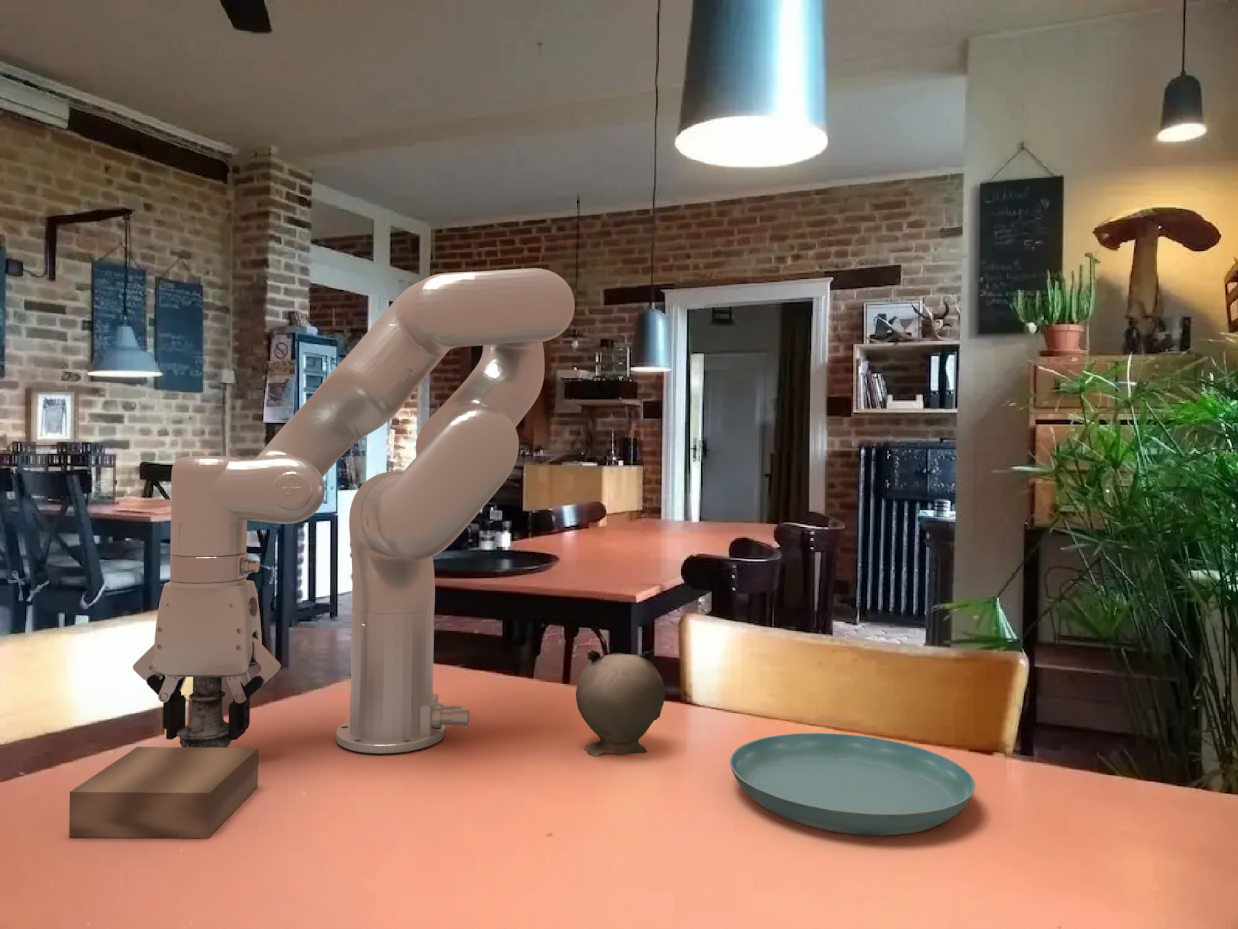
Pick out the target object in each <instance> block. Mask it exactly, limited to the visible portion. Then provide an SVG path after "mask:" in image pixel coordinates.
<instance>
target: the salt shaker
mask: <svg viewBox="0 0 1238 929" xmlns="http://www.w3.org/2000/svg"><path fill="white" fill-rule="evenodd" d="M222 679H223V677H192V693H190V694H189V695H188V699H189V700H191V717H190V720H189V723H188V724H187V725H186V727H183V728H181V729H180V730H179V731H178V732H177V738H179V744H180V747H217V748H229V746H230V744H231V742H232V740H230V739H229V738H228V730H229V721H228V722H226V721H225V720H224V714H223V697H225V696H226V692H225V691H223V690H222V687H223V686H222V682H223V680H222Z"/></svg>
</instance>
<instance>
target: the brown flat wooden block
mask: <svg viewBox="0 0 1238 929" xmlns="http://www.w3.org/2000/svg"><path fill="white" fill-rule="evenodd" d="M258 787H259V747H227V748H217V747H182V746H136V747H135V748H133V749H132V750H130V751H129V752H127V753H126V754H124V755H123V756H122V757H120V758H119V759H117V760H115V761H114V762H112V763H111V764H110V765H108V766H106V767H105V768H103V769H102V770H101V771H99V772H98V773H95V775H93V776H91V777H90V778H88V779H87V780H86V781H84V782H82V783H81V784H80V785H78V786H76V787H75V788H73V789H72V790H70V791H69V809H68V810H69V811H68V812H69V814H68V815H69V821H68V822H69V823H68V824H69V825H68V826H69V827H68V829H69V830H68V833H69V834H68V837H69V838H104V839H105V838H113V839H114V838H115V839H116V838H117V839H118V838H119V839H121V838H122V839H123V838H125V839H126V838H127V839H133V838H136V839H138V838H141V839H146V838H147V839H153V838H154V839H209V838H210V837H211V836H213V834H214V833H215V832H216V831H217V830H218V829H219V828H220V827H221V826H222V825H223V824H224V823H225V822H226V821H227V820H228V819H229V818H230V817H231V815H232V814H234V812H236V811H237V810H238V808H239V807H241V805H242V804H243V803H244V802H245V801H246V800H247V799H248V798H249V797H250V796H251V795H252V794H253V793H254V792H255V790H256V789H258Z"/></svg>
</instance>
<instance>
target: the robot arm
mask: <svg viewBox="0 0 1238 929" xmlns="http://www.w3.org/2000/svg"><path fill="white" fill-rule="evenodd" d="M575 304H576V302H575V296H574V293H573V291H572V289H571V287H570V285H569V284H568V282H566V280H565V279H564V278H563V277H561V276H560V275H559V274H557V273H556V272H553V271H551V270H548V269H545V268H544V269H543V268H537V267H534V268H533V267H531V268H515V269H499V270H482V271H461V272H460V271H459V272H458V271H457V272H443V273H438V274H433V275H431V276H428V277H426V278H424V279H423V280H421V281H420V280H419V281H418V282H417V283H414V284H412V285H411V286H409V287H408V288H406V289H405V290H404V291H403V292H402V293H400V294H399V295H398V296H397V297H396V299H395V300H394V301H393V302H392V303H391V304H390V306H389V307H388V308H386V310H385V311H384V312H383V313H382V315H380V317H379V318H378V320H376V322H375V323H374V324H373V325H372V326H371V328H370V329H369V330H368V331H367V332H366V333H365V334H364V335H363V337H362V338H361V339H360V340H359V341H358V342H357V344H356V345H355V346H354V347H353V348H352V349H351V350H350V352H349V353H348V354H347V355H346V356H345V357H344V358H343V360H341V361H340V363H339V364H338V365H337V366H336V367H335V369H333V371H332V372H331V373H330V374H329V375H328V376H326V378H325V379H324V381H323V382H321V384H320V385H319V387H318V388H317V389H316V390H315V391H314V392H313V394H312V395H311V396H310V397H309V398H308V399H307V401H306V402H304V404H302V406H300V408H298V410H297V411H296V412H294V414H293V415H292V416H291V417H290V418H289V420H288V421H287V422H286V423H285V424H284V425H283V426H282V428H280V430H279V431H278V432H277V433H276V434H275V435H274V437H273V438H272V439H270V441H269V442H268V443H267V445H266V446H264V448H263V449H262V450H261V451H260V453H259V454H258V455H257V456H256V457H255V458H253V459H240V458H238V457H234V456H224V455H223V456H222V455H188V456H183V457H179V458H178V459H176V460H175V462H174V463H173V465H172V469H171V477H170V478H171V479H170V480H171V485H170V486H171V487H170V488H171V490H170V495H171V496H170V497H171V498H170V547H169V548H170V551H169V552H170V556H169V557H170V559H169V581H168V582H165V583H164V584H163V588H162V592H161V594H160V599H159V603H158V604H159V605H158V610H157V616H156V622H155V630H154V631H155V632H154V643H153V645H151V647H150V648H149V649H147V650H146V651H145V652H144V654H143V655H142V656H141V657H140V658H138V659H137V661H135V663H134V664H133V665H132V670H133V671H134V672H135V673H136V674H137V675H138V676H139V677H140V678H141V679H142V680H144V681H146V684H147V686H148V687H149V688H150V689H151V690H152V691H153V692H154V693H155V694H156V695H157V699H158V700H159V701H160V702H161V703H162V704H163V705H162V727H163V729H164V730H165V739H166V740H169V741H170V740H174V739H176V738H178V736H177V732H178V731H179V730H180V729H181V728H183V727H186V726H187V725H186V720H187V719H186V717H187V716H186V714H187V710H186V709H187V707H186V706H187V697H186V696H185V694H182V690H183V688H184V685H185V682H186V680H187V678H191V677H192V678H193V677H222V678H225V679H226V682H227V684H228V686H229V690H230V692H231V694H232V702H230V703H229V704H228V723H229V730H228V738H229V739H230V740H231V741H237V740H238V739H239V738H241V737H242V736H243V735H244V734H245V733H246V731H247V730H248V729H249V727H250V721H251V720H250V718H251V710H250V709H251V697H252V696H254V694H255V693H256V692H258V690H260V688H261V687H263V685H264V684H265V683H267V682H268V681H269V680H270V679H271V678H272V677H273V676H274V675H276V673H277V672H279V670H280V669H281V667H282V665H281V663H280V662H279V661H278V660H277V659H276V657H275V656H274V655H273V654H272V653H270V651H269V650H268V649H267V648H266V647H265V646H264V645H263V641H262V640H263V638H262V627H261V626H262V625H261V615H260V607H259V599H258V594H257V588H256V584H255V581H254V580H251V579H250V580H247V578H248V577H249V574H252V573H258V572H259V571H260V561H259V560H257V559H256V560H254V559H251V558H250V557H249V553H247V547H248V546H247V542H248V541H247V540H248V539H247V538H248V536H247V535H248V534H247V533H248V521H251V522H252V521H254V522H262V523H270V524H281V525H282V524H283V525H289V524H296V523H297V524H298V523H300V522H302V521H306V520H307V519H309V518H310V517H312V516H313V515H314V514H316V512H318V510H319V509H320V507H321V506H322V505H323V504H322V503H323V502H324V499H325V494H326V485H325V481H324V476H325V475H326V474H327V473H328V472H329V470H330V469H331V468H332V467H333V466H334V465H335V464H336V463H337V462H338V461H339V460H340V458H342V456H343V455H344V454H345V453H346V452H348V451H349V449H350V448H352V447H353V446H354V445H356V443H358V442H359V441H361V440H362V439H363V438H365V437H366V436H368V435H369V434H372V433H373V432H375V431H377V430H378V429H380V428H381V427H383V426H384V425H385V424H387V422H389V421H390V420H391V419H392V418H393V417H394V416H395V415H396V414H397V413H398V412H399V411H400V410H401V408H402V407H403V406H404V405H405V403H407V402H408V400H409V399H410V397H411V396H412V394H414V392H415V391H416V390H417V389H418V387H419V386H420V385H421V384H422V382H424V380H425V379H426V378H427V376H428V375H429V374H430V373H431V372H432V371H433V370H434V369H435V368H436V366H437V365H438V364H439V363H440V361H441V360H442V359H443V358H444V357H445V356H446V355H447V353H449V351H450V350H453V349H455V348H462V347H476V346H477V347H481V346H482V354H481V357H480V359H479V360H478V361H479V362H478V363H477V364H476V366H475V368H474V369H473V370H472V372H470V374H469V375H468V377H467V378H466V379H465V380H464V381H463V382H462V384H461V385H460V386H459V387H458V388H457V389H456V390H455V391H454V392H453V393H452V394H451V396H450V397H449V398H447V400H446V401H444V403H443V404H442V405H441V406H440V407H439V408H438V409H437V410H436V411H435V412H434V413H433V414H432V415H431V416H430V417H429V418H428V419H427V420H426V422H425V423H424V424H423V426H421V428H420V430H419V432H418V435H417V437H416V442H415V454H416V456H415V458H414V459H413V460H412V461H411V462H410V463H409V464H408V465H407V467H405V469H404V470H403V471H402V472H401V471H386V472H382V473H378V474H376V475H373V476H372V477H371V478H369V479H367V480H366V481H364V483H363V484H361V486H360V487H359V489H357V491H356V492H355V495H354V497H353V498H352V500H351V504H350V509H349V515H348V517H349V518H348V528H349V529H348V530H349V541H350V551H351V567H352V568H351V569H352V573H351V574H352V585H351V586H352V590H351V591H352V595H351V597H352V599H351V602H352V604H351V605H352V606H351V633H350V634H351V644H350V645H351V646H350V650H351V652H350V653H351V654H350V699H349V700H350V701H349V702H350V705H349V707H350V710H349V713H350V714H349V720H348V721H346V722H344V723H342V724H341V725H339V726H338V728H337V729H336V731H335V732H336V734H335V736H336V737H335V739H336V743H337V744H338V745H339V746H340V747H342V748H344V749H347V750H350V751H354V752H358V753H365V754H382V755H383V754H398V753H404V752H412V751H417V750H422V749H426V748H428V747H430V746H433V745H435V744H437V743H439V742H440V741H441V740H442V739H443V738H444V737H445V734H446V725H447V726H449V725H451V726H454V727H455V726H456V727H457V726H458V727H459V726H460V727H461V726H462V727H468V726H469V723H470V709H469V708H463V707H462V705H459V704H458V705H444V704H443V703H441V702H440V703H439V693H434V692H433V691H434V644H435V641H434V640H435V638H434V637H435V604H436V603H435V602H436V598H435V597H436V581H435V568H434V567H435V566H434V558H433V557H435V556H438V554H440V553H442V552H443V551H445V550H446V549H447V548H448V547H449V546H450V545H452V544H453V542H454V541H456V540H457V538H458V537H459V536H460V535H461V534H462V533H463V532H464V530H465V529H466V528H467V527H468V526H469V525H470V524H471V522H472V521H473V520H474V519H475V518H476V516H478V514H479V513H480V511H481V510H483V508H484V507H485V506H486V505H487V504H488V502H489V501H490V500H491V499H492V497H494V495H495V494H496V493H497V492H498V490H499V489H500V488H501V487H502V486H503V485H504V483H505V482H506V480H507V479H508V477H509V476H510V475H511V473H512V471H513V469H514V467H515V465H516V462H517V460H518V459H517V458H518V456H519V448H520V440H519V435H518V432H517V431H518V430H517V429H516V427H518V425H519V424H520V422H521V421H522V420H523V418H524V417H525V416H526V414H527V413H528V412H529V411H530V409H531V408H532V407H533V405H534V404H535V402H536V400H537V399H538V397H539V395H540V394H541V391H542V387H543V383H544V379H545V352H544V344H543V342H546V341H547V342H548V341H550V340H552V339H555V338H557V337H559V336H560V335H561V334H563V333H564V332H565V331H566V330H567V329H568V327H569V326H570V324H571V323H572V320H573V317H574V314H575V309H576V308H575V306H576V305H575ZM258 665H259V666H260V671H259V672H258V673H257V674H256V675H255V676H253V678H251V676H250V674H249V669H252V668H254V667H255V668H256V667H257V666H258Z"/></svg>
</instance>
